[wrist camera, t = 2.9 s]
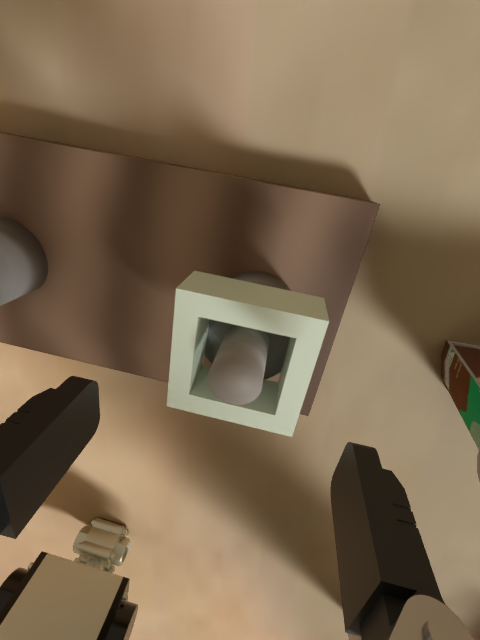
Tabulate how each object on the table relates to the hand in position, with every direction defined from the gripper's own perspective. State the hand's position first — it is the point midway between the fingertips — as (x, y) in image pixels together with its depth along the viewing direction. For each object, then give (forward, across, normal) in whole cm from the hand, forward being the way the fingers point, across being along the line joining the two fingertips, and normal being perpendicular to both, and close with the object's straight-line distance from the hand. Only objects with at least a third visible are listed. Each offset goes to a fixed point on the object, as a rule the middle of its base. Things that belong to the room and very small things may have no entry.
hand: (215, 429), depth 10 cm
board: (+12, +8, 0) cm, 15 cm away
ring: (+6, 0, 0) cm, 6 cm away
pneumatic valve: (+12, +11, +31) cm, 35 cm away
